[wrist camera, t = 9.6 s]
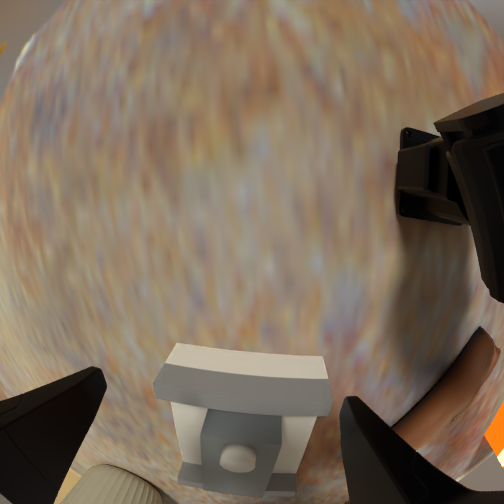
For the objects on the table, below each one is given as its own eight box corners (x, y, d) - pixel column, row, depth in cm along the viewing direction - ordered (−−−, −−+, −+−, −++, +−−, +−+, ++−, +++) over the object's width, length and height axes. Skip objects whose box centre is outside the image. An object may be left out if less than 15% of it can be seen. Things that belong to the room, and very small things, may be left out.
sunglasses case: (408, 451, 24) (404, 482, 18) (373, 427, 27) (364, 456, 21) (504, 347, 20) (523, 364, 14) (469, 317, 23) (485, 328, 17)
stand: (322, 356, 21) (333, 401, 15) (293, 459, 25) (293, 496, 19) (176, 342, 21) (153, 383, 16) (190, 448, 25) (179, 484, 20)
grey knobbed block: (264, 466, 21) (262, 507, 16) (210, 460, 21) (201, 499, 16) (281, 406, 19) (281, 458, 14) (210, 398, 19) (196, 447, 14)
